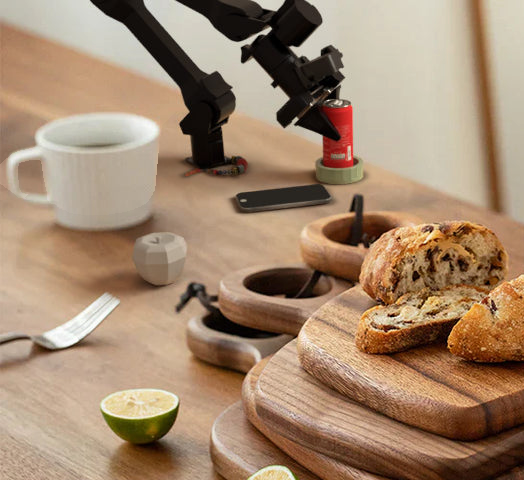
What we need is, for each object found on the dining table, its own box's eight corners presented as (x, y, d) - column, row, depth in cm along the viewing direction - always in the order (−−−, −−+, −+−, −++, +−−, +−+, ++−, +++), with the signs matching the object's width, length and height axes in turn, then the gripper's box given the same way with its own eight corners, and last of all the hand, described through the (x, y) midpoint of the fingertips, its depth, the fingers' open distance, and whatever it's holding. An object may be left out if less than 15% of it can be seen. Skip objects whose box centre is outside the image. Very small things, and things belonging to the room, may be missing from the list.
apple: (175, 296, 145) (170, 251, 142) (123, 288, 148) (117, 244, 145) (201, 272, 152) (197, 229, 149) (151, 265, 154) (146, 222, 151)
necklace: (249, 176, 187) (247, 165, 186) (185, 185, 186) (183, 174, 186) (247, 162, 194) (245, 151, 193) (186, 171, 194) (184, 160, 193)
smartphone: (234, 192, 178) (322, 182, 181) (234, 197, 178) (322, 187, 181) (241, 209, 171) (333, 198, 174) (241, 213, 172) (333, 202, 175)
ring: (306, 175, 187) (306, 160, 186) (344, 165, 192) (344, 151, 190) (334, 187, 181) (333, 173, 180) (372, 177, 186) (372, 162, 184)
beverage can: (319, 174, 185) (317, 106, 179) (328, 164, 189) (327, 97, 183) (348, 177, 183) (347, 108, 178) (357, 167, 188) (356, 99, 182)
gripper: (291, 46, 169) (358, 121, 171) (333, 21, 184) (394, 90, 186) (248, 91, 175) (313, 163, 177) (292, 63, 190) (351, 130, 192)
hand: (345, 135), depth 183 cm, fingers closed on beverage can, 5 cm apart
